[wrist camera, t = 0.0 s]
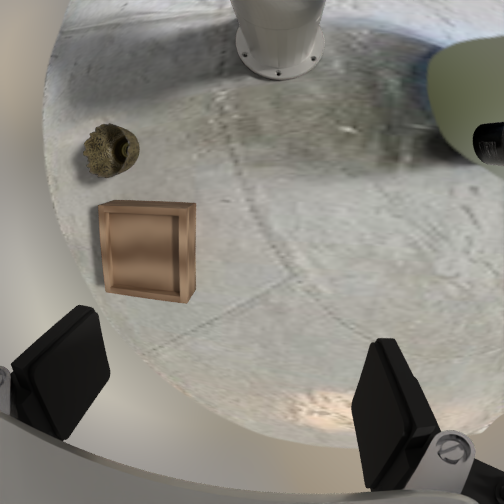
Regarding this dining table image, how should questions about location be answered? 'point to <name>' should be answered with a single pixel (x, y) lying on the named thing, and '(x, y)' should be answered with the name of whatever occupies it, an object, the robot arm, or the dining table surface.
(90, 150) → the cup
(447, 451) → the robot arm
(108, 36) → the dining table surface
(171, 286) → the shallow wooden tray
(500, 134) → the supplement bottle
